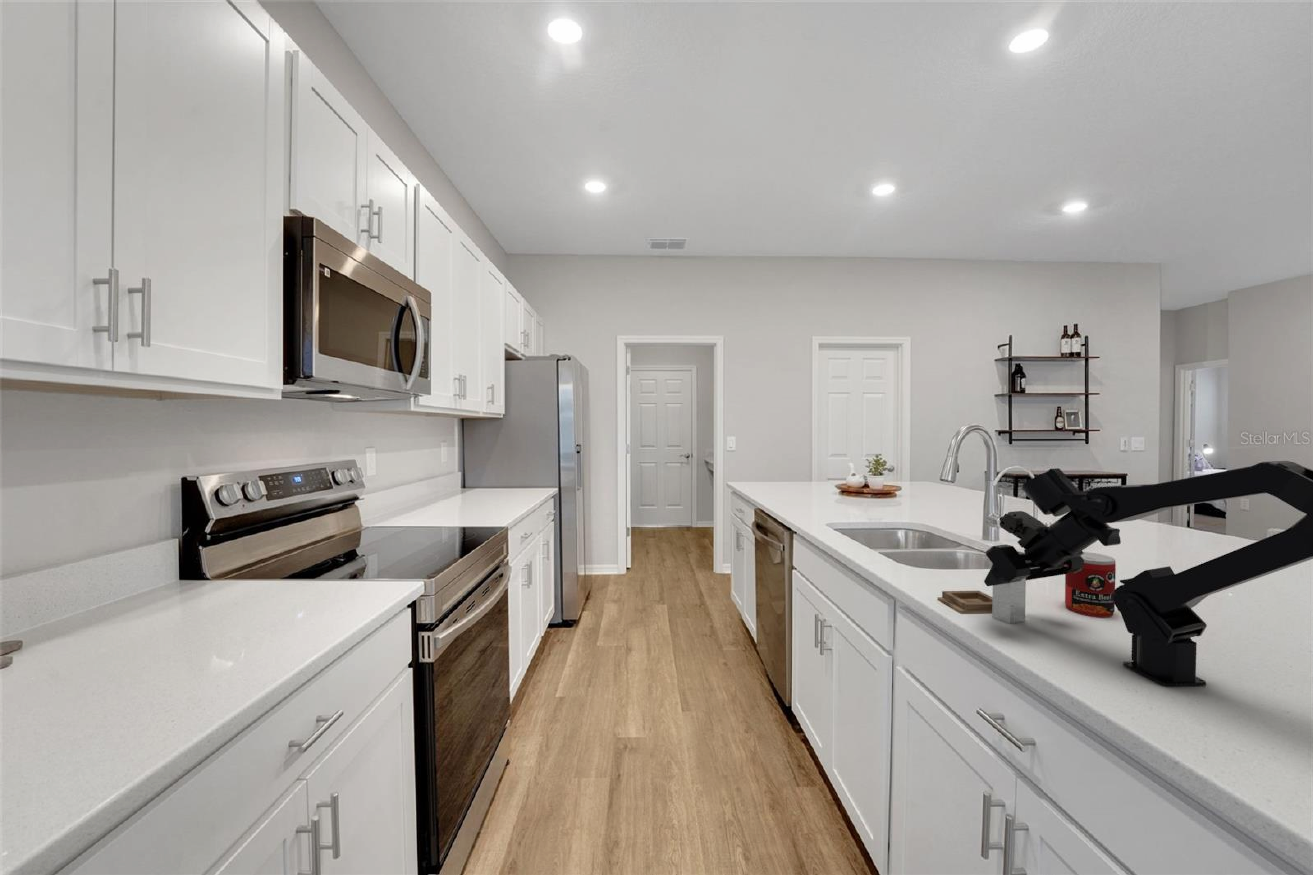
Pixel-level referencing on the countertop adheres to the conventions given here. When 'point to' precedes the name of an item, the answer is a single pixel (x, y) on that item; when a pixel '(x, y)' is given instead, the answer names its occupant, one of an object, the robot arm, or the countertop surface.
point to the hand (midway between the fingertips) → (1003, 581)
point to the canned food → (1092, 586)
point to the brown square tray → (967, 601)
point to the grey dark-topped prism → (1009, 601)
